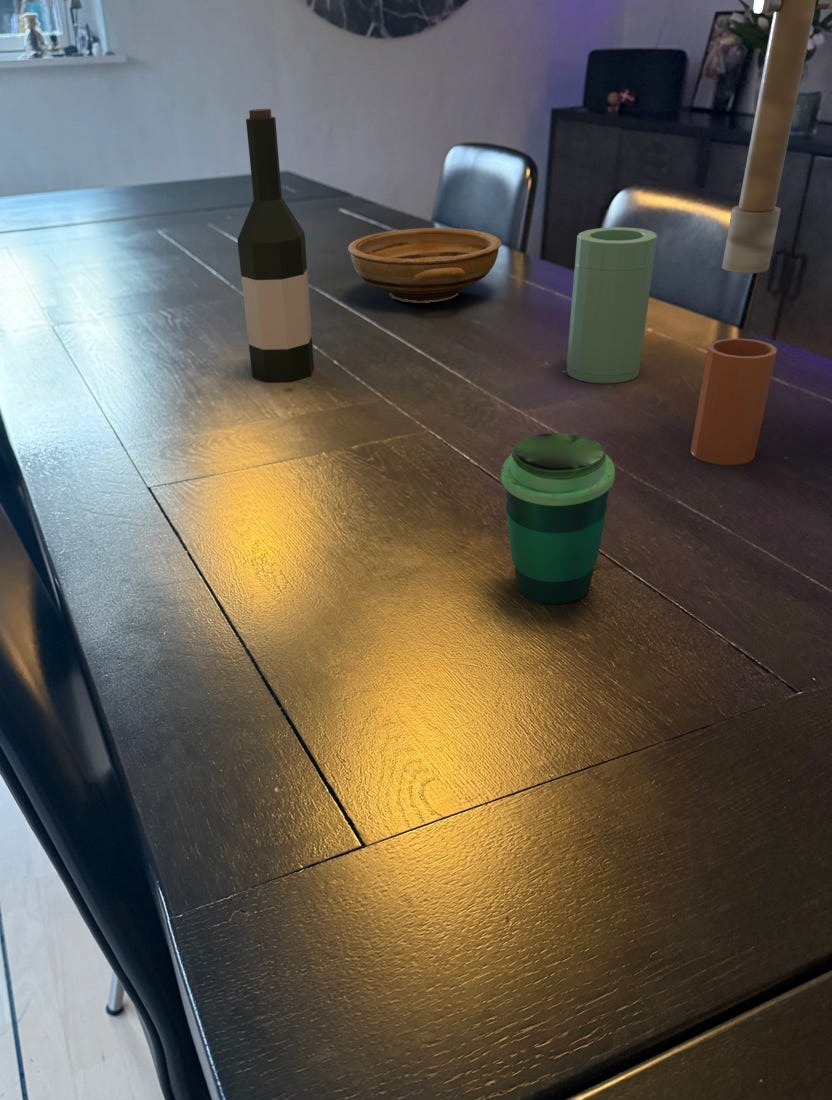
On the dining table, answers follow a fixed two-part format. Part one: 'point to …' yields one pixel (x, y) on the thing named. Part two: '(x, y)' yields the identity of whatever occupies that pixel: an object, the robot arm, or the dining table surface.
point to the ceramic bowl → (424, 261)
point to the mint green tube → (610, 303)
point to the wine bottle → (273, 267)
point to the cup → (556, 513)
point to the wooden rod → (769, 140)
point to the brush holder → (732, 400)
